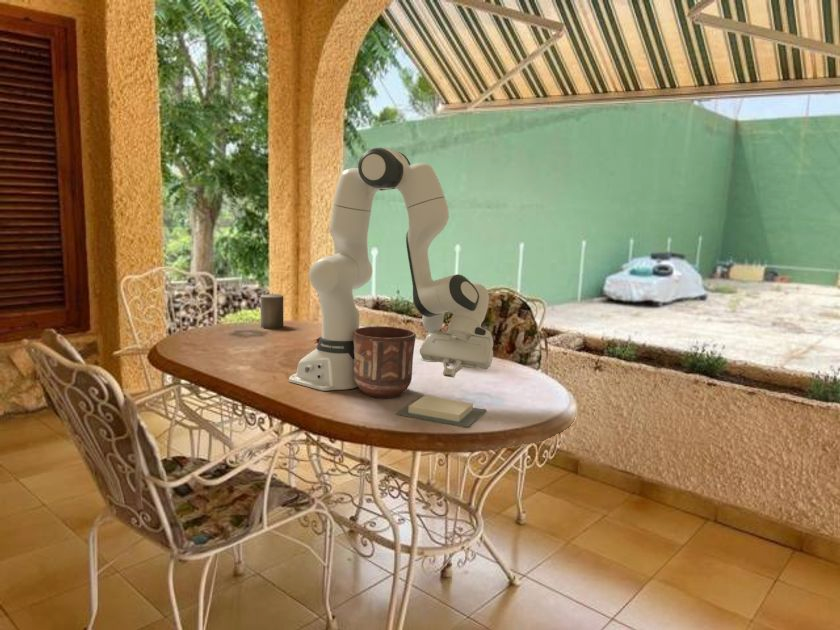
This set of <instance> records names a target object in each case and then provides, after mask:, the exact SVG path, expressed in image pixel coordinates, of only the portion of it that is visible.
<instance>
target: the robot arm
mask: <svg viewBox="0 0 840 630" xmlns="http://www.w3.org/2000/svg"><path fill="white" fill-rule="evenodd" d="M357 165H358V166H357V167H349V168H348V169H344V170H343V171H342V172H341V173H340V176H339V178H338V181H337V185H336V187H335V188H336V189H335V192H334V196H333V202H332V208H331V209H332V210H331V216H330V221H329V229H328V230H329V234H330V236H331V237H332V240H333V247H334V250H333V251H334V253H333V255H326V256H323V257H321V258H319V259H318V260H316V261H315V262H314V263H313V264H312V265H311V266H310V268H309V272H308V278H309V283H310V285H311V286H312V288H313V289H314V290H315V291H316V293H317V297H318V299H319V305H320V309H321V336H320V337H318V338H317V339H313V341H314V342H313V344H314V345H315V344H317V345H316V348H315V349H313V350H312V351H310V353H309V352H308V354H306V355H305V356H304V357H302V358H301V359H300V360H299V362H298V363H297V369H296V373H293V374H292V375H290V376H288V377H289V378H288V382H289V383H293V384H296V385H297V384H298V385H300V386H304V387H308V388H312V389H315V390H319V391H322V392H323V391H324V392H325V391H326V392H327V391H335V390H350V389H355V388H359V387H358V386H357V384H356V382H355V379H354V359H355V358H354V341H353V332H354V330H356V329H359V328H360V317H361V316H360V315H361V314H360V311H359V309H358V308H357V306H356V303H355V300H354V295H353V291H354V290H357V289H361V288H362V287H363V286H364V285H366V284H367V283H368V282H369V281H370V280H371V278H372V275H373V267H372V263H371V261H370V260H369V252H368V236H369V235H368V233H369V229H370V228H369V227H370V219H371V213H372V206H373V200H374V197H375V195H376V193H377V192H378V191H387V190H388V191H389V190H395V189H396V190H397V191H399V192H400V194H401V195H402V197H403V200H404V203H405V208H406V211H407V214H408V216H407V217H408V230H407V232H406V234H405V235H406V236H405V242H406V243H405V244H406V251H407V259H408V264H409V270H410V277H411V283H412V284H411V285H412V302H413V306H414V307H415V309H416V310H417V311H418V313H420V314H421V315H422V316H423V315H424V316H426V317H433V316H436V315H439V314H441V313H443V314H444V313H448V312H450V313H451V314H452V318H451V320H450V323H449V325H448V328H447V331H441V330H439V331H436V330H434V331H432V332H427V334H426V335H425V338H424V341H423V343H422V344H421V346H420V348H419V354H420V356H421V358H423V359H424V360H429V361H436V362H437V363H442V364H443V367H444V368H443V372H442V375H443V377H447V378H455V377H456V374H457V373H458V372H459V371H460V370H461V369H462V368H463V366H464V367H469V368H477V369H483V370H487V369H490V368H491V366H492V362H493V358H494V357H493V356H494V351H493V347H494V339H493V336H492V333H491V331H490V330H488V329H486V328H484V327H482V324H483V322H484V321H485V318H486V316H487V312H488V308H489V301H490V294H489V291H488V289H487V288H486V287H485V286H484V285H482V284H481V283H479V282H471V281H470V280H469V278H467V277H466V276H464V275H462V274H460V273H458V274H453V275H448V276H444V277H442V278H439V279H435V280H433V278H432V274H431V268H430V267H431V266H430V262H429V254H428V253H429V248H430V245H431V243H432V242H433V241H434V239H436V238H437V236H438V235H440V234H441V233H442V231H443V230H444V229H445V227H446V226H447V223H448V221H449V218H450V216H449V208H448V207H449V206H448V204H447V200H446V196H445V193H444V190H443V188H442V185H441V182H440V180H439V179H438V176H437V174H436V172H435V170H434V168H433V167H432V166H431V165H429V164H428V163H425V162H417V163H413V164H411V162H410V160H409V158H408V157H407V156H406V155H405V154H403V152H401V151H397V150H395V149H392V148H383V147H373V148H369V149H368V150H367V151H365V152H363V154H362V155H361V157H360V158H359V161H358V164H357ZM436 362H435V363H436ZM450 365H455V366H454V367H453V368H448V367H450Z"/></svg>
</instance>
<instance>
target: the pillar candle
mask: <svg viewBox="0 0 840 630" xmlns="http://www.w3.org/2000/svg"><path fill="white" fill-rule="evenodd" d="M284 326H285V325H284V295H283V294H276V293H274V292H271V294H270V293H268V294H267V293H266V294H261V295H260V328H262V327H263V328H262V329H269V330H270V329H271V330H274V329H282V328H283V327H284Z"/></svg>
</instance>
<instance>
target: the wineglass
mask: <svg viewBox="0 0 840 630" xmlns="http://www.w3.org/2000/svg"><path fill="white" fill-rule="evenodd" d="M444 316H445V315H444V313H441V314H439V315H436V316H433V317H426V316H424V315H422V317H421V319H422V320H421V321H422V325H423V327H424V329H425V330H426V331H427V333H429V332H432V331H434V330H436V331H441V328H442V327H443V326H444ZM420 360H421V361H424V362H430V363H436V361H429V360H424V359H423V358H422V357H421V358H420Z"/></svg>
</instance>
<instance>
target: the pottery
mask: <svg viewBox="0 0 840 630" xmlns="http://www.w3.org/2000/svg"><path fill="white" fill-rule="evenodd" d="M416 338H417V337H416V332H414V331H412V330H410V329H407V328H403V327H396V326H395V327H394V326H380V325H379V326H376V325H375V326H365V327H359V329H356V330H354V332H353V341H354V358H355V359H354V379H355V382H356V384H357V386H358V387H357V388H359V390H360V391H361V392H362V393H363V394H365V395H366V396H369V397H373V398H379V399H381V398H382V399H388V398H396V397H400V396H402V395H403V393H404V392H406V391H407V390H408V388H409V387H410V384H411V382H412V378H413V377H412V376H413V363H414V362H413V361H414V351H415V344H416Z"/></svg>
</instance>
